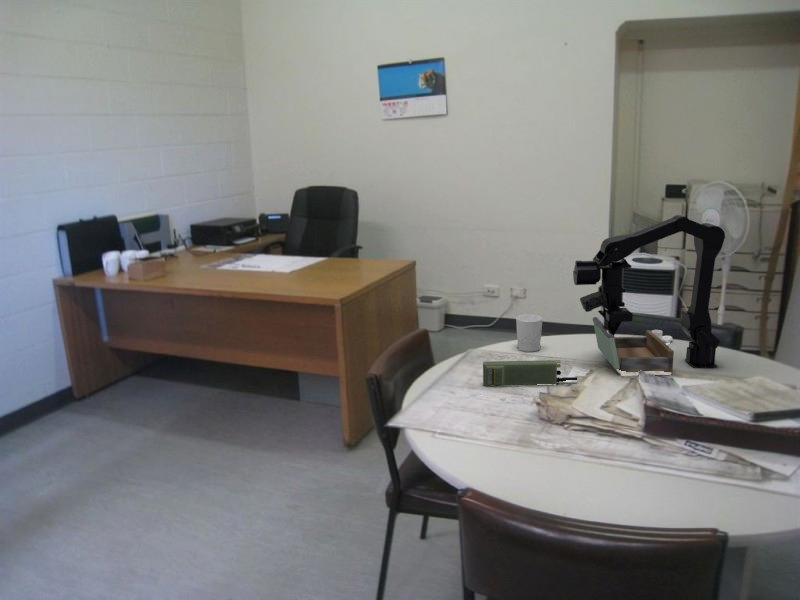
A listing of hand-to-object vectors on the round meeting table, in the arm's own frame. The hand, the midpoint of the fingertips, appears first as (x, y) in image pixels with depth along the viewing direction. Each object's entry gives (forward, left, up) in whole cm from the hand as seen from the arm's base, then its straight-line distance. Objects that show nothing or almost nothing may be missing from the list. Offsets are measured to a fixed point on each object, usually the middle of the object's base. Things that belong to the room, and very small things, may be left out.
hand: (610, 337), depth 177 cm
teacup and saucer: (-22, -17, -9) cm, 29 cm away
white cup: (+21, -15, -9) cm, 27 cm away
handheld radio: (+25, +14, -9) cm, 30 cm away
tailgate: (0, 0, -6) cm, 6 cm away
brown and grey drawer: (-7, 0, -8) cm, 11 cm away
